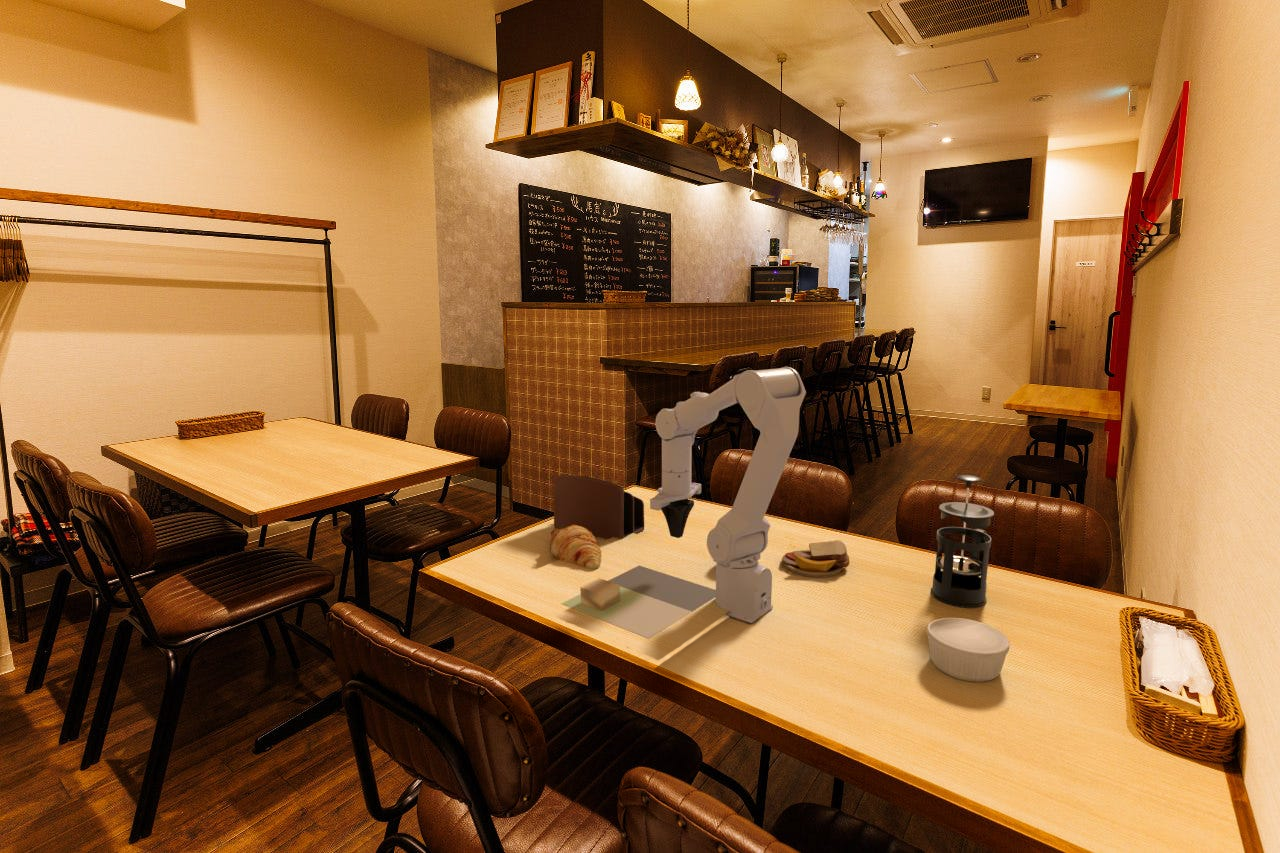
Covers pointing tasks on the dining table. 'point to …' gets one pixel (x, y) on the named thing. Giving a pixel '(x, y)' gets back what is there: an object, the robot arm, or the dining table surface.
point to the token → (600, 594)
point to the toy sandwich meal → (818, 559)
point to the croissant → (576, 546)
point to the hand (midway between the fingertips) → (676, 536)
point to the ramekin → (967, 648)
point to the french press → (962, 568)
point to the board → (648, 601)
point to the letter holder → (596, 507)
